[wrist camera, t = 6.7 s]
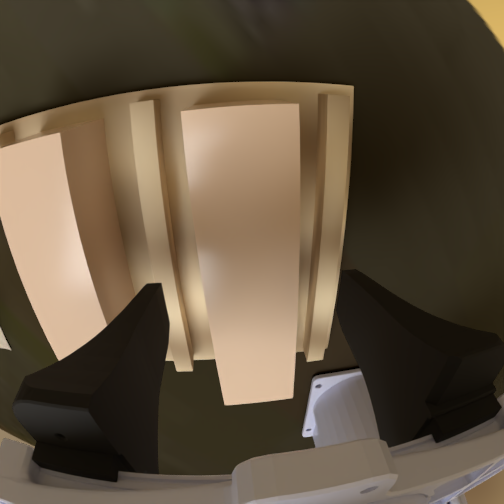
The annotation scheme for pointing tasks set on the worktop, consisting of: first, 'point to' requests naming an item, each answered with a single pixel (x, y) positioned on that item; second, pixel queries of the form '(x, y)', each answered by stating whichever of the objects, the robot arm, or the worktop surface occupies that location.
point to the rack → (179, 205)
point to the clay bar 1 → (65, 231)
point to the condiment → (3, 341)
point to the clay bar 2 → (248, 239)
